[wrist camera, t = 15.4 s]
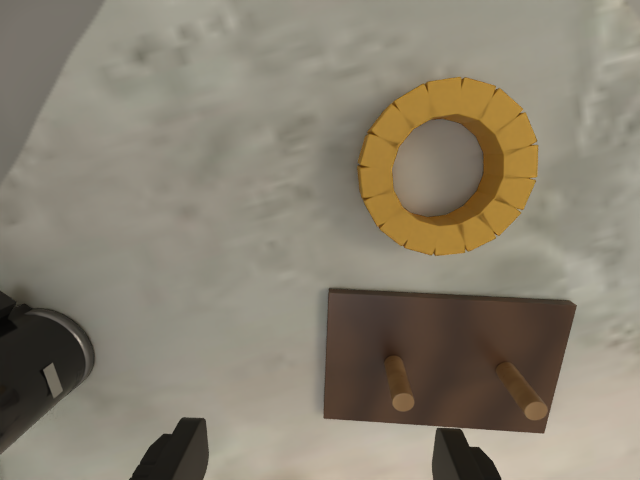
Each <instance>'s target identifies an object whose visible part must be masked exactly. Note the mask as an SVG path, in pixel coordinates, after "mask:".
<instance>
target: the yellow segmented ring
mask: <svg viewBox="0 0 640 480" xmlns="http://www.w3.org/2000/svg"><path fill="white" fill-rule="evenodd" d="M495 88H496V86H494V85H491V84H487V83H484V82H480V81H477V80H473V79H470V78H466V77H465V78H463V79H461V77H456V78H449V79H443V80H436V81H429V82H427V83H426V84H421V85H420V86H418V87H416V88H415V89H413V90H411V91H410V92H408V93H406V94H405V95H403V96H401V97H400V98H398V99H397V100H395V101H394V102H393V103H391V104H390V105H389V106H388V107H387V108H386V109H385V110H384V111H383V112H382V113H381V115H380V116H379V117H378V119H377V120H376V121H375V123H374V124H373V125H372V126H371V128H370V129H369V130H368V132H367V133H368V135H366V136H365V138H364V142H363V145H362V148H361V152H360V155H359V159H358V163H359V164H360V165H359V166H357V170H358V180H359V190H360V193H361V197H362V199H363V202H364V204H365V205H366V207H367V209H368V211H369V213H370V214H371V216H372V218H373V220H374V222H375V224H376V225H377V226H378V227H379V229H380V230H381V231H382V232H384V233H385V234H386V235H387V236H389V237H390V238H391V239H392V240H394V241H395V242H396V243H398V244H399V245H400V246H404V248H406V249H410V250H414V251H417V252H421V253H425V254H428V255H432V254H433V253H434V255H435V256H439V255H448V254H457V253H465V249H466V250H467V251H468V252H469V251H471V250H473V249H475V248H477V247H479V246H481V245H483V244H485V243H487V242H489V241H491V240H493V239H495V238H496V237H495V235H494V234H496V235H498V236H499V235H500V234H501V233H502V232H503V231H504V230H505V229H506V228H507V227H508V226H509V225H510V224H511V223H512V222H513V221H514V220H515V219H516V218H517V217H518V216H519V215H520V214H521V212H520V211H518V210H517V209H521V210H523V209H524V207H525V205H526V202H527V200H528V198H529V196H530V193H531V191H532V189H533V186H534V184H535V182H536V180H533V179H530V178H533V177H537V166H538V145H532V144H533V143H535V142H537V139H536V137H535V134H534V132H533V129H532V127H531V125H530V122H529V120H528V117H527V115H526V113H525V112H524V113H520V112H521V111H522V110H523V108H521V107H520V106H519V105H518V104H517V103H516V102H515V101H514V100H513V99H511V98H510V97H509V96H508V95H507V94H506V93H505V92H504V91H502V90H501V89H500V88H499V89H496V90H495ZM441 118H443V119H447V120H450V121H454V122H457V123H461V124H462V125H463V126H465V127H466V128H467V129H468V130H469V131H470V132H472V133H473V134H474V135H475V136H476V138H477V140H478V142H479V144H480V147H481V149H482V151H483V155H484V174H483V176H482V179H481V181H480V184H479V186H478V189H477V191H476V192H475V193H474V195H473V196H472V197H471V198H470V199H469V200H468V201H467V202H466V203H465V204H464V206H462V207H460V208H458V209H456V210H454V211H453V212H451V213H449V214H447V215H441V216H433V217H425V216H421V215H418V214H414V213H410V212H409V211H407V210H406V209H405V208H404V207H402V205H401V203H400V201H399V199H398V197H397V195H396V194H395V192H394V189H393V176H392V167H393V164H394V161H395V158H396V155H397V151H398V148H399V146H400V145H401V144H402V143H403V141H404V140H405V139H406V138H407V137H408V135H409V134H410V133H411V132H412V130H413V129H415V128H416V127H418V126H420V125H421V124H423V123H425V122H427V121H428V120H434V119H441ZM516 208H517V209H516Z"/></svg>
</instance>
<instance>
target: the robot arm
mask: <svg viewBox="0 0 640 480" xmlns="http://www.w3.org/2000/svg"><path fill="white" fill-rule="evenodd" d="M15 304H16V301H15V300H13V299H12V298H10V297H9V296H7V295H6V294H4V293H3V292H1V291H0V455H1V454H2V453H3V452H4V451H5V450H6V449H7V448H8V447H9V446H11V445H12V444H13V443H14V442H15V441H16V440H17V439H18V438H19V437H20V436H22V435H23V434H24V433H25V432H26V431H27V430H28V429H29V428H30V427H32V426H33V425H34V424H35V423H36V422H37V421H38V420H39V419H40V418H42V417H43V416H44V415H45V414H46V413H47V412H48V411H49V410H50V409H52V408H53V407H54V406H55V405H56V404H57V403H58V402H59V401H60V400H61V399H63V398H64V397H65V396H66V395H68V394H69V393H70V392H71V391H72V390H73V389H75V388H76V387H77V386H78V385H80V384H81V383H82V382H83V381H84V380H85V379H86V378H87V377H88V376H89V374H90V372H91V370H92V367H93V363H94V354H93V349H92V346H91V343H90V341H89V339H88V337H87V336H86V334H85V333H84V332H83V330H82V329H81V328H80V327H79V326H78V325H77V324H76V323H75V322H73V321H72V320H71V319H69V318H67V317H66V316H64V315H62V314H60V313H57V312H54V311H51V310H46V309H32V308H30V307H29V306H27V305H26V304H22V305H20V306H18V307H16V308H14V309H13V307H14V306H15ZM208 458H209V450H208V439H207V428H206V421H205V419H204V418H186V417H183V418H181V420H180V421H179V423H178V424H177V426H176V428H175V430H174V431H173V433H172V434H163V435H162V436H161V437H160V438H159V439H157V440H156V441H155V442H154V443H153V444H152V445H151V446H150V447H149V449H148V450H147V452H146V453H145V455H144V457H143V458H142V460H141V461H140V465H138V466H137V468H136V470H135V471H134V473H133V475H132V478H130V479H129V480H203V478H204V476H205V473H206V469H207V465H208ZM432 473H433V480H501V477H500V475H499V473H498V471H497V469H496V467H495V465H494V463H493V461H492V460H491V459H490V458H489V457H488V456H487V455H486V454H485V453H484V452H483V451H482V450H481V449H480V448H479V447H469V445H468V442H467V440H466V438H465V436H464V434H463V432H462V430H461V429H454V428H437V430H436V435H435V443H434V451H433V459H432Z"/></svg>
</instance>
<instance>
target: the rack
mask: <svg viewBox="0 0 640 480" xmlns="http://www.w3.org/2000/svg"><path fill="white" fill-rule="evenodd" d="M576 306H577V305H575V304H574V303H572V302H571V301H566V300H546V299H527V298H507V297H487V296H467V295H447V294H428V293H408V292H388V291H368V290H348V289H329V295H328V320H327V345H326V370H325V395H324V418H325V419H340V420H355V421H369V422H384V423H398V424H413V425H428V426H442V427H457V428H472V429H486V430H501V431H515V432H530V433H544V432H545V428H546V424H547V420H548V416H549V412H550V408H551V404H552V400H553V396H554V393H555V389H556V385H557V381H558V377H559V373H560V369H561V365H562V361H563V357H564V353H565V349H566V345H567V342H568V338H569V334H570V330H571V326H572V322H573V318H574V314H575V310H576Z"/></svg>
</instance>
